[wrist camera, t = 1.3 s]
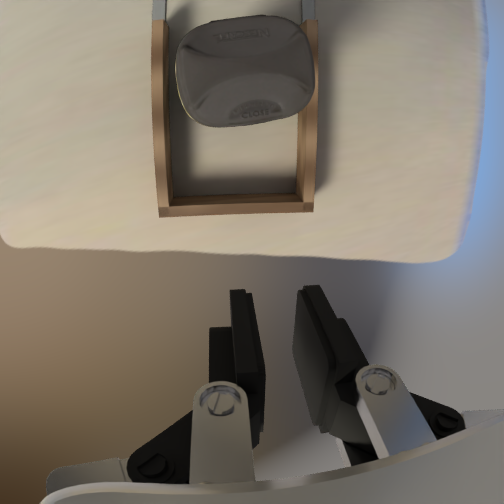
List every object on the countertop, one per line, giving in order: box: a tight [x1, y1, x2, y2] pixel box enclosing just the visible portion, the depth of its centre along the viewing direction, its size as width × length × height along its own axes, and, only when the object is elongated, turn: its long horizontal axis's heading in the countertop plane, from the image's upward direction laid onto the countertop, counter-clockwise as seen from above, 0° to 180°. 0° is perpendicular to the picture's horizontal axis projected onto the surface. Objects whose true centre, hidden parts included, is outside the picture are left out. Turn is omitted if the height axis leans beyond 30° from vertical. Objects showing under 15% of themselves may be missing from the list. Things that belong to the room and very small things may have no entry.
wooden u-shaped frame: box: [151, 19, 318, 218], centre depth 33 cm, size 22×17×4 cm
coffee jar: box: [175, 15, 315, 127], centre depth 25 cm, size 10×8×19 cm
